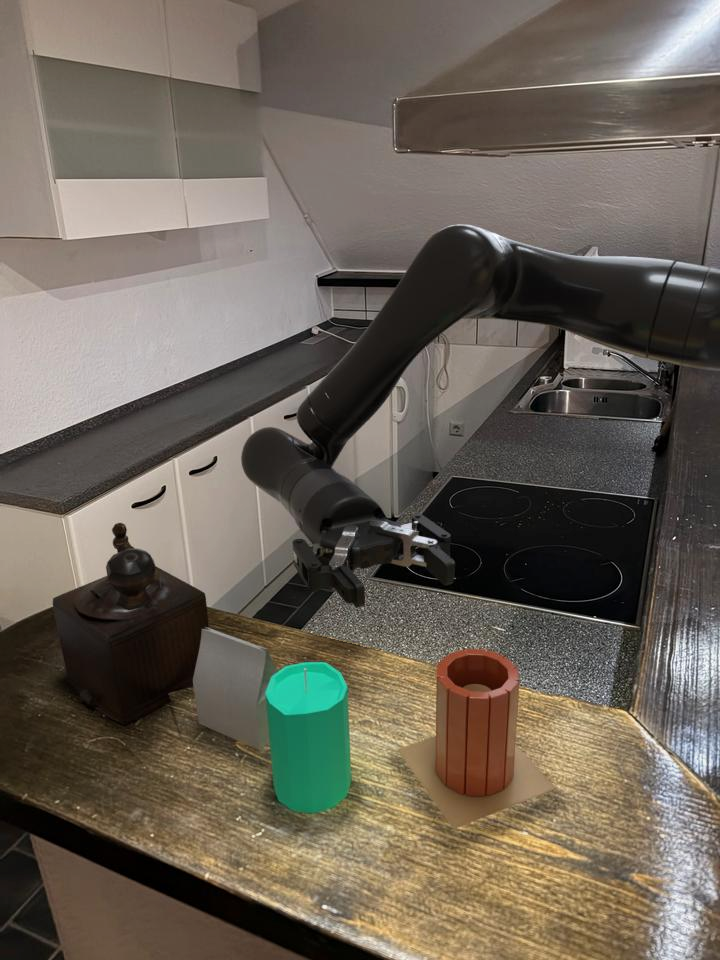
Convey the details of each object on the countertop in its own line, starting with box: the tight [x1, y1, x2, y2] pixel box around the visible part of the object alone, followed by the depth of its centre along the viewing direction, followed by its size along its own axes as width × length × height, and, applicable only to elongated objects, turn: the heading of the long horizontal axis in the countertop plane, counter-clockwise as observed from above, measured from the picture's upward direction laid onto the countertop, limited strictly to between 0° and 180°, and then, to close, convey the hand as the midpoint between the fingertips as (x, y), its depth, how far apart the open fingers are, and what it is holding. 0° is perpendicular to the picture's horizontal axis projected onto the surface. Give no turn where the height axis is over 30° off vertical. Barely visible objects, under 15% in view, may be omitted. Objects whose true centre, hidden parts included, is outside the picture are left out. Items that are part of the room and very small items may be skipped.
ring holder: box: [397, 684, 557, 830], centre depth 59 cm, size 9×9×8 cm
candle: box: [265, 661, 352, 814], centre depth 57 cm, size 6×6×12 cm
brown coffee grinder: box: [52, 522, 210, 726], centre depth 69 cm, size 16×11×18 cm
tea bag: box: [193, 627, 279, 751], centre depth 64 cm, size 4×7×10 cm, turn 59°
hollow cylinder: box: [435, 648, 520, 797], centre depth 58 cm, size 6×6×9 cm
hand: (406, 586), depth 65 cm, fingers open, 8 cm apart
